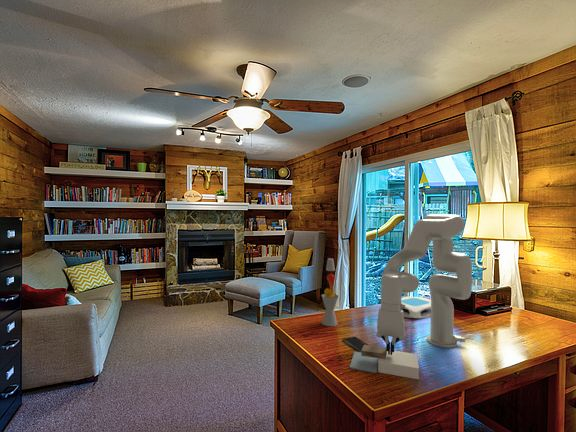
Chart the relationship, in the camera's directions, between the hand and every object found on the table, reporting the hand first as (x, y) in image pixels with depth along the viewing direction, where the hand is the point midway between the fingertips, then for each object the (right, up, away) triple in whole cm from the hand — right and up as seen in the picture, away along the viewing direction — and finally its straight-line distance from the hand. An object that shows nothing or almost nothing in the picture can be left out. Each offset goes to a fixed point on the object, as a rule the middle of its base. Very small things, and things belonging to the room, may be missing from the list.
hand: (390, 353), depth 119 cm
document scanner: (+38, -6, +69) cm, 79 cm away
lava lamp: (-17, -5, +47) cm, 50 cm away
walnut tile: (-6, -1, +2) cm, 6 cm away
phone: (-8, -6, +19) cm, 21 cm away
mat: (-9, -5, +3) cm, 11 cm away
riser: (+3, -5, -1) cm, 6 cm away
